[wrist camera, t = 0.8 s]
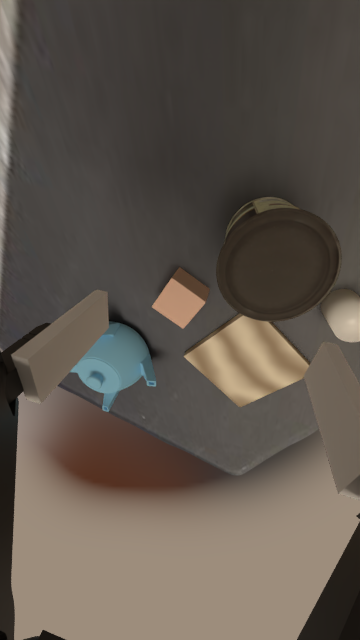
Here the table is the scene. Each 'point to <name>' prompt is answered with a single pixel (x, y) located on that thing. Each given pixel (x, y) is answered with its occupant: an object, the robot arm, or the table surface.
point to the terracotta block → (181, 298)
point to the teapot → (116, 362)
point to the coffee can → (277, 260)
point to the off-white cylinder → (343, 314)
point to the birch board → (248, 359)
